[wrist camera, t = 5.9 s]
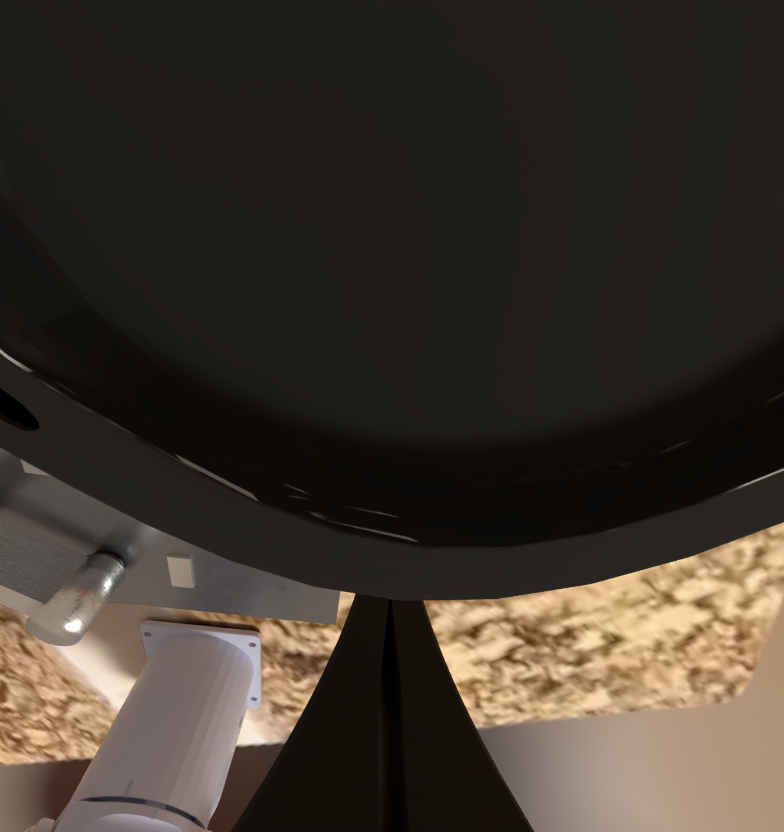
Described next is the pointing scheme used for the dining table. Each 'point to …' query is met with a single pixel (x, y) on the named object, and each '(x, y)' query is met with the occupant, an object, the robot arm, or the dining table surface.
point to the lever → (53, 583)
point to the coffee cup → (400, 280)
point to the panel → (153, 554)
